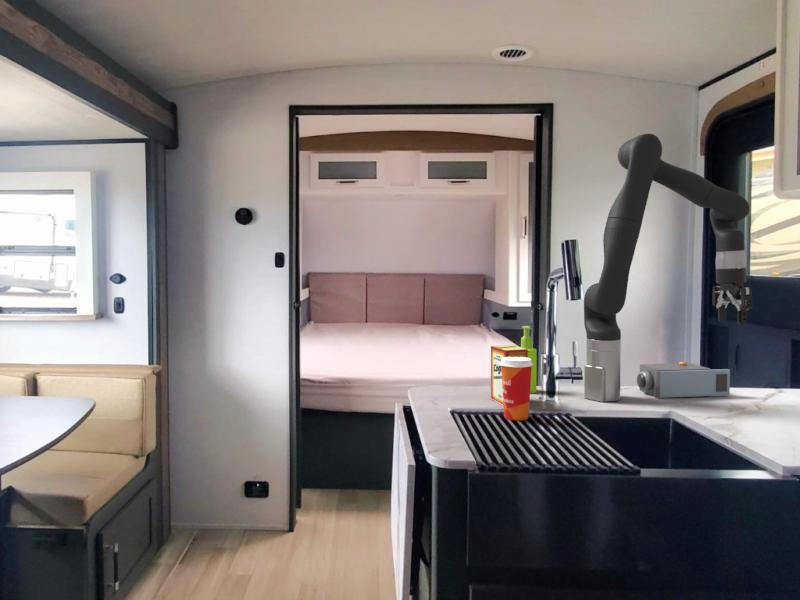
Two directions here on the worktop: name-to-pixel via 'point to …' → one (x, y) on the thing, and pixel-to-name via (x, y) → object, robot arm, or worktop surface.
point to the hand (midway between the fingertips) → (732, 322)
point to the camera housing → (648, 370)
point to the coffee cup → (516, 387)
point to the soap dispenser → (530, 356)
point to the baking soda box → (496, 373)
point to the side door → (692, 383)
